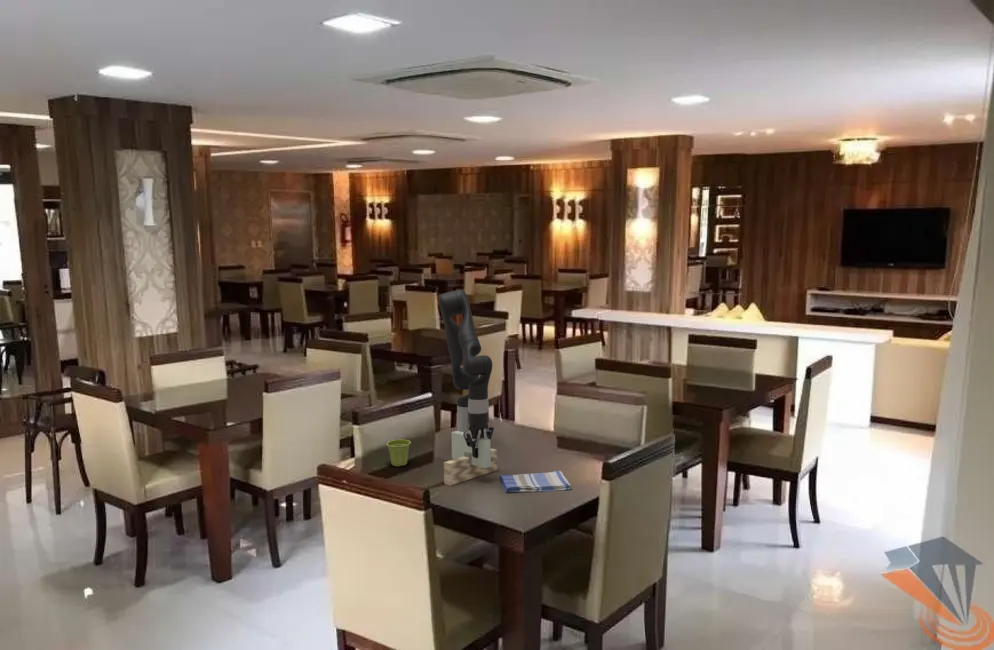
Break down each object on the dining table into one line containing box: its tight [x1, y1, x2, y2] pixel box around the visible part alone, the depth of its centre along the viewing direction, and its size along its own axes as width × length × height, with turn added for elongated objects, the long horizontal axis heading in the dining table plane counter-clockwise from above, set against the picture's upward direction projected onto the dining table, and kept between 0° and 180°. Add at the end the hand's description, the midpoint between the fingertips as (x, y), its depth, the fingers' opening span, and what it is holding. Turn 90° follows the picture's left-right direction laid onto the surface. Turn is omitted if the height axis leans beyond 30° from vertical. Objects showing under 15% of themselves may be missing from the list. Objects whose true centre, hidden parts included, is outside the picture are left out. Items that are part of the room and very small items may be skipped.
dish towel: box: [499, 470, 572, 494], centre depth 262 cm, size 17×24×3 cm
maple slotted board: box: [443, 448, 498, 486], centre depth 270 cm, size 24×3×8 cm, turn 135°
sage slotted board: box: [451, 430, 492, 468], centre depth 269 cm, size 3×18×10 cm, turn 45°
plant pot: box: [386, 439, 412, 467], centre depth 287 cm, size 9×9×9 cm
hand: (479, 456), depth 267 cm, fingers closed on sage slotted board, 3 cm apart
